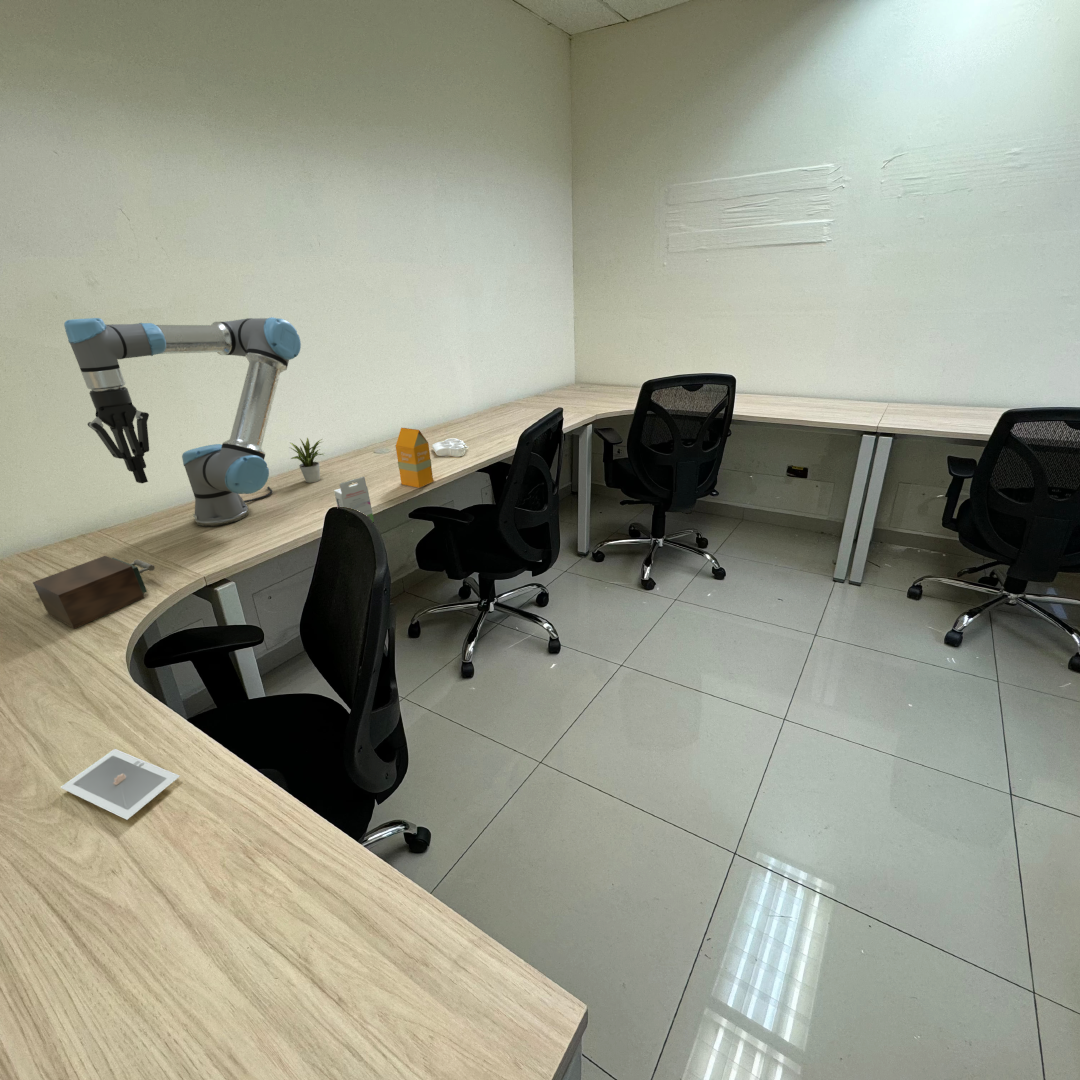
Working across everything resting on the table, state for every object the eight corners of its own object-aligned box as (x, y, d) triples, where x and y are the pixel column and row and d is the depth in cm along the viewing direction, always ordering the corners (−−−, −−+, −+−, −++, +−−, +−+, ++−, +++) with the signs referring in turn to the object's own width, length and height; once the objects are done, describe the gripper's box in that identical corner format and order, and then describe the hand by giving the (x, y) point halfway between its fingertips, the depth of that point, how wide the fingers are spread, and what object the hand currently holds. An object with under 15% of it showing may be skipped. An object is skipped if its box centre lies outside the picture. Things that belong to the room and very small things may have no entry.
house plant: (339, 481, 206) (330, 438, 199) (300, 489, 199) (290, 445, 192) (328, 472, 217) (320, 431, 210) (291, 480, 210) (281, 437, 203)
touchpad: (129, 825, 75) (124, 814, 74) (62, 792, 81) (56, 782, 80) (182, 781, 82) (178, 770, 81) (117, 753, 87) (112, 743, 86)
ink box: (366, 517, 172) (358, 472, 166) (374, 521, 169) (366, 476, 163) (340, 526, 167) (330, 480, 161) (348, 530, 164) (338, 483, 157)
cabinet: (117, 586, 138) (105, 555, 134) (144, 597, 132) (131, 566, 128) (48, 614, 127) (32, 582, 123) (74, 629, 121) (58, 595, 117)
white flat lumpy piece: (431, 448, 243) (464, 444, 247) (437, 459, 227) (472, 454, 231) (430, 440, 241) (463, 436, 245) (436, 451, 226) (471, 446, 230)
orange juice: (419, 488, 196) (411, 432, 187) (401, 484, 200) (392, 430, 192) (433, 481, 202) (426, 427, 193) (416, 478, 206) (408, 424, 197)
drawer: (141, 574, 141) (131, 550, 138) (165, 583, 136) (156, 559, 133) (59, 607, 128) (47, 581, 125) (83, 619, 122) (71, 593, 119)
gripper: (128, 382, 138) (160, 472, 148) (68, 392, 128) (106, 488, 138) (144, 384, 135) (176, 476, 145) (84, 394, 125) (122, 492, 135)
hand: (142, 481), depth 141 cm, fingers closed
